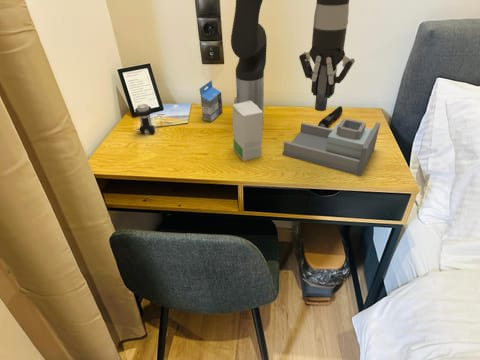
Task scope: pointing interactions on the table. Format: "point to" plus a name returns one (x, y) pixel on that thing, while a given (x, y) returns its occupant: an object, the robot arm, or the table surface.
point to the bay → (314, 149)
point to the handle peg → (322, 89)
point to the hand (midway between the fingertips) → (322, 95)
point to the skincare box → (247, 130)
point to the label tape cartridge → (210, 102)
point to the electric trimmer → (330, 117)
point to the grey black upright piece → (145, 119)
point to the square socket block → (348, 138)
